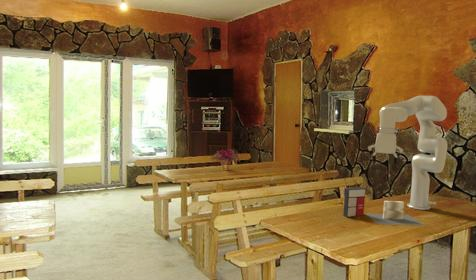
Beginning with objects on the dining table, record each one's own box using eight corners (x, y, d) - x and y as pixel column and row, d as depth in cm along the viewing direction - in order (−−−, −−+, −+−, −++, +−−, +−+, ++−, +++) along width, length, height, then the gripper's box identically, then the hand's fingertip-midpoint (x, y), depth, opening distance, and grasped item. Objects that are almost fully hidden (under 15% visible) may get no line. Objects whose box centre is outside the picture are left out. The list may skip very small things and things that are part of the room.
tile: (401, 218, 218) (402, 201, 217) (402, 219, 216) (404, 202, 215) (382, 217, 218) (383, 200, 217) (383, 218, 216) (385, 201, 215)
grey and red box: (347, 217, 218) (349, 189, 216) (342, 215, 222) (344, 187, 220) (364, 216, 222) (366, 188, 220) (359, 214, 226) (361, 187, 224)
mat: (408, 216, 225) (408, 214, 225) (425, 227, 207) (425, 225, 206) (364, 214, 225) (364, 213, 225) (377, 225, 206) (377, 223, 206)
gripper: (404, 132, 216) (401, 164, 217) (369, 129, 221) (367, 161, 223) (405, 132, 208) (402, 166, 210) (369, 130, 214) (366, 163, 216)
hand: (384, 164), depth 216 cm, fingers open, 9 cm apart
